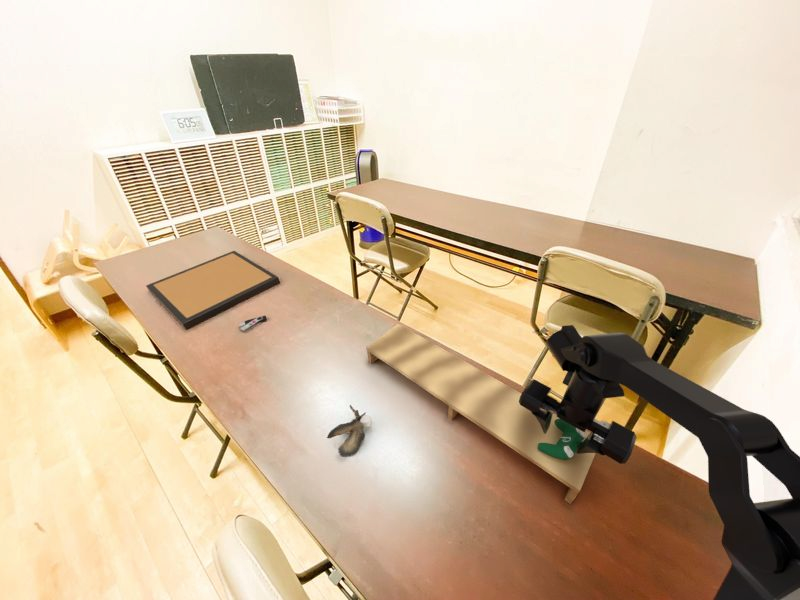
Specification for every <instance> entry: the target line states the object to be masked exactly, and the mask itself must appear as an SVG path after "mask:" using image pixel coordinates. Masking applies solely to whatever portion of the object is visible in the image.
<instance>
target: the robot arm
mask: <svg viewBox="0 0 800 600" xmlns="http://www.w3.org/2000/svg"><path fill="white" fill-rule="evenodd" d="M546 347H547V348H548V350H549V352H550V353H551V354H552V356H553V358H554V359H555V361H556V362H557V364H558V366H559V367H560V368H561V370H562V371H563V372H566V374H565V376H564V378H563V380H562V384H563V385H565V386H567V387H566V388H565V391H564V394H563V395H562V398H561V401H560V402H559V401H558V399H556V398H554V397H552V396H550V395H549V394H550V393H551V391H552V387H550V386H548V385H546V384H544V383H542V382H541V381H539V380H537V379H531V380H530V381H529V382H528V384H527V385H526V386H525V388H524V389H523V391H522V392H521V396H520V399H519V403H520V405H521V406H523V407H525V408H526V409H528V410H530V411H531V413H532V414H533V415H534V416H535V417H536V418H537V420H538V421H539V423H540V425H541V427H542V430H543V432H544V433H545V434H546V433H547V431H548V429H549V427H550V423H551V419H552V415H553V414H555V415H557V416H556V417H558V418H560V419H562V420H563V421H565V422H567V423H569V424H570V425H572V426H574V427H576V428H577V429H579V430H581V431H583V432H585V430H586V431H589V432H590V434H589V435H588V436H587V437H586V438H585V440H584V441H583V442H582V443H581V445H580V446H579V448H578V450H577V452H576V453H577V454H582V453H596V454H597V455H601V456H603V457H604V456H606V457H608V458H610V459H611V460H613V461H615V462H617V463H618V464H620V465H621V464H622V465H623V464H626V463H627V462H628V461H629V459H630V457H631V456H632V453H633V450H634V447H635V444H636V440H637V434H636V432H635V431H634V430H632V429H630V428H628V427H626V426H624V425H622V424H620V423H618V422H616V421H614V420H612V421H611V422H610V423H609V422H607V421H605V420H598V419H596V417H597V416H598V413H599V412H600V410H601V408H603V407H602V406H603V405H604V403H605V401H606V400H607V399H611V398H612V399H613V398H622V397H623V398H624V397H625V394H626V393H625V391H624V388H623V386H624V387H626V388H627V389H628V390H629V391H631V392H633V393H634V394H635V395H637V396H638V397H640V398H641V399H643V400H644V401H645V402H647V403H648V404H650V405H651V406H652V407H654V408H655V409H656V410H658V411H660V412H661V413H662V414H664V415H665V416H667V417H668V418H669V419H671V420H672V421H674V422H675V423H676V424H678V425H679V426H681V427H682V428H684V429H685V430H687V431H688V432H689V433H691V434H692V435H694V436H695V437H696V438H697V439H698V441H699V443H700V444H701V446H702V448H703V450H704V452H705V454H706V457H707V475H708V476H707V477H708V494H709V497H710V499H711V501H712V504H713V506H714V507H715V509H716V511H717V514H718V515H719V517H720V520H721V522H722V524H723V528H722V536H721V545H722V548H723V549H724V552H725V553H726V555H727V557H728V560H729V561H730V563H731V565H730V568H729V569H728V571H727V573H726V575H725V576H724V578H723V581H722V582H721V583H720V586H719V588H718V590H717V591H716V594H715V595H714V597H713V599H712V600H800V455H799V454H797V453H796V452H795V451H794V450H793V449H792V448H791V447H790V446H789V443H788V442H787V441H786V439H785V437H784V436H783V434H782V433H781V431H780V429H779V428H778V427H777V425H776V424H775V423H774V422H773V421H772V420H771V419H769V418H767V416H765V415H763V414H760V413H758V412H754V411H750V410H747V409H744V408H742V407H740V406H739V405H737V404H735V403H733V402H731V401H730V400H728V399H726V398H724V397H722V396H720V395H718V394H716V393H714V392H713V391H711V390H709V389H708V388H706V387H703V386H702V385H700V384H698V383H696V382H694V381H692V380H691V379H689V378H687V377H685V376H683V375H681V374H679V373H677V372H676V371H674V370H672V369H670V368H668V367H667V366H665V365H663V364H661V363H659V362H657V361H655V360H654V359H653V358H651V357H650V356H648V353H647V350H646V348H645V346H644V345H643V344H641V343H640V342H638V341H637V340H635V338H633V336H632V337H631V336H630V335H629V334H627V333H624V332H612V333H602V334H601V333H599V334H591V335H589V334H588V335H583V336H581V335H580V333H579V332H578V330H577V329H576V327H575V326H574V325H573V324H569V325H562V326H561V328H560V329H559V330H558V331H555V332H554V333H553V334H551V335H550V336H549V337H547V339H546ZM748 457H752V458H753V459H754V460H755V461H757V462H758V463H759V464H760V465H761V466H762V467H764V468H765V469H766V470H767V471H768V472H769V473H770V474H772V476H774V477H775V478H776V479H777V480H778V481H779V482H780V483H781V484H782V485H784V487H785V488H786V490H787V491H788V493H789V495H790V498H783V499H782V498H781V499H776V500H768V501H767V500H766V501H759V502H754V501H753V499H752V498H751V495H750V494H751V493H750V492H751V491H750V477H749V464H748V463H749V462H748Z"/></svg>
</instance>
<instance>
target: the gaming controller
mask: <svg viewBox="0 0 800 600" xmlns="http://www.w3.org/2000/svg"><path fill="white" fill-rule="evenodd" d="M555 425H556V426H557V427H558V428H559V429H560V430H561V431H562V432H563V435H562V436H561V437H560V439H559V440H558V442H557V443H556V445H554V444H549V443H538V450H540V451H541V452H543V453H545V454H547V455H549V456H552V457H554V458H557V459H562V460H567V459H571V458H572V457H573V456H574V454H575V452H576V451H577V449H578V448H579V446H580V445H581V443H582V441H583V440H584V438H585V432H583V431H581V430H579V429H577V428H576V427H574V426H572V425H570V424H569V423H567V422H565V421H563V420H562V419H556V420H555Z"/></svg>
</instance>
